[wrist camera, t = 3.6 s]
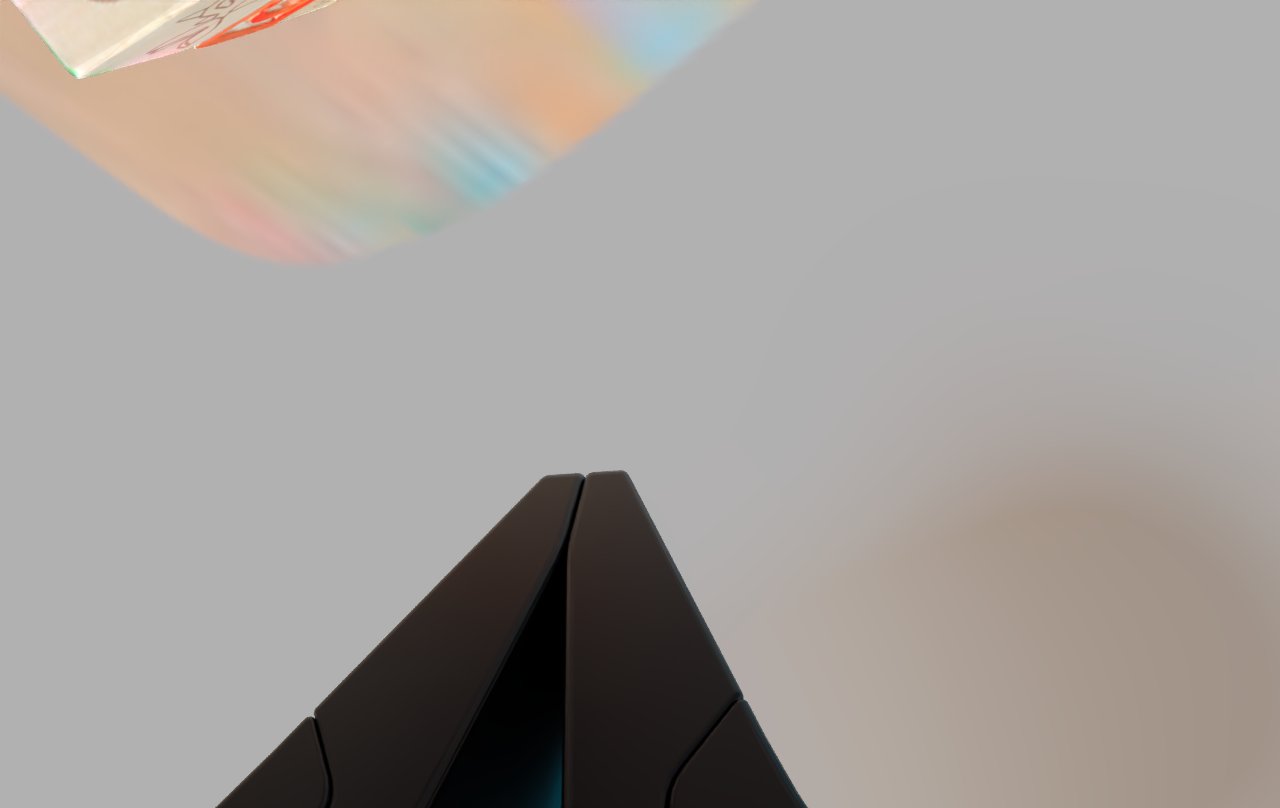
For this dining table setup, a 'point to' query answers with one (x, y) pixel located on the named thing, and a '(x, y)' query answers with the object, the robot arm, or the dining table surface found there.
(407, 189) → the dining table surface
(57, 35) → the stack of blocks
